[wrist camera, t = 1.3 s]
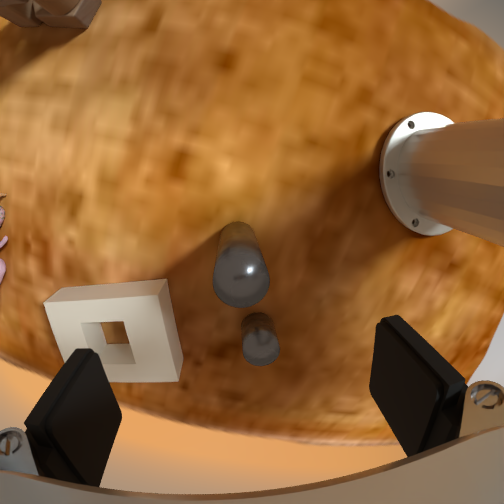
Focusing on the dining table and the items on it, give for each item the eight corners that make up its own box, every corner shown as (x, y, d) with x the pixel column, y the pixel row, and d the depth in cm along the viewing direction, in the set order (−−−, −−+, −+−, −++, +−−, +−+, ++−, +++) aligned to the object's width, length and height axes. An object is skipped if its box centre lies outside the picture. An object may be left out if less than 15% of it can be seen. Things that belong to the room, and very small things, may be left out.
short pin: (272, 310, 30) (278, 333, 26) (274, 338, 31) (280, 363, 27) (239, 314, 30) (240, 337, 26) (243, 342, 31) (244, 367, 27)
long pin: (253, 219, 28) (267, 251, 17) (257, 254, 29) (271, 304, 18) (217, 223, 28) (209, 257, 17) (221, 258, 29) (216, 310, 18)
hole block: (166, 278, 29) (157, 294, 25) (183, 358, 31) (178, 381, 27) (61, 287, 29) (43, 302, 25) (85, 360, 31) (71, 380, 27)
